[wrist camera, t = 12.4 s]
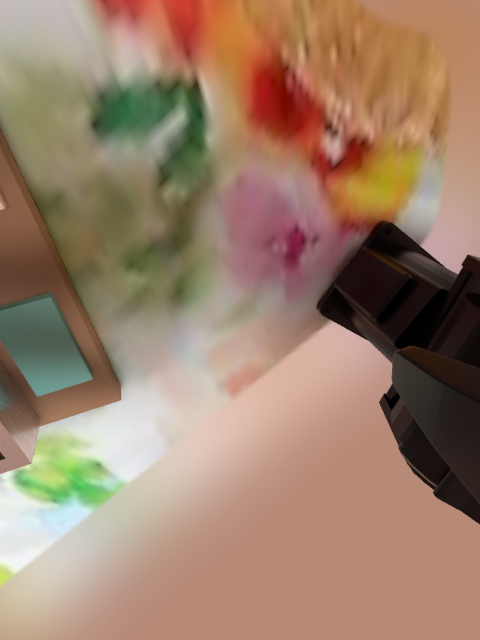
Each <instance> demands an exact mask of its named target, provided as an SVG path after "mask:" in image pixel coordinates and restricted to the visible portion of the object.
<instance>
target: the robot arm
mask: <svg viewBox="0 0 480 640" xmlns="http://www.w3.org/2000/svg"><path fill="white" fill-rule="evenodd" d="M386 228H387V231H386V232H385V233H384V230H385V229H386ZM462 266H463V268H462V269H461V271H460V273H459V274H456V273H454V272H452V271H450V270H449V269H447V268H445V267H444V266H443V265H442V264H441V263H440V262H438V261H437V260H436V259H435V258H434V257H432V256H431V255H430V254H429V253H428V252H426V251H425V250H424V249H423V248H422V247H420V246H419V245H418V244H417V243H416V242H414V241H413V240H412V239H411V238H410V237H408V236H407V235H406V234H405V233H404V232H402V231H401V230H400V229H399V228H398V227H396V226H395V225H394V224H392V223H390V222H388V221H383V222H381V223H380V224H379V225H378V226H377V227H376V229H375V230H374V231H373V233H372V234H371V235H370V237H369V238H368V239H367V241H366V242H365V243H364V244H363V246H362V247H361V248H360V250H359V251H358V252H357V254H356V255H355V256H354V258H353V259H352V260H351V261H350V263H349V264H348V265H347V267H346V268H345V269H344V271H343V272H342V273H341V275H340V276H339V277H338V279H337V280H336V281H335V282H334V284H333V285H332V286H331V288H330V289H329V290H328V292H327V293H326V294H325V296H324V297H323V298H322V299H321V301H320V302H319V304H318V306H317V309H318V311H319V312H320V313H321V314H322V315H323V316H325V317H326V318H328V319H330V320H332V321H334V322H335V323H337V324H339V325H341V326H343V327H345V328H346V329H348V330H350V331H352V332H353V333H355V334H357V335H359V336H361V337H363V338H364V339H366V340H368V341H370V342H371V343H372V344H373V345H374V346H375V347H376V348H377V349H378V350H379V351H380V352H381V353H382V354H383V355H384V356H385V357H386V358H387V359H388V360H389V361H390V362H391V363H392V364H393V366H392V383H393V384H392V385H391V387H390V389H389V390H388V392H387V393H386V394H384V395H383V397H382V398H381V400H380V402H379V403H380V406H381V408H382V410H383V412H384V414H385V417H386V419H387V421H388V423H389V425H390V428H391V430H392V432H393V434H394V437H395V439H396V441H397V443H398V445H399V450H400V452H401V454H402V456H403V457H404V459H405V460H406V462H407V464H408V465H409V466H410V468H411V469H412V471H413V473H414V474H415V475H417V476H418V477H419V478H420V479H421V480H422V481H423V482H425V483H426V484H427V485H428V486H430V487H431V488H432V489H433V490H434V492H433V493H434V495H435V496H436V497H437V498H438V499H440V500H442V501H443V502H445V503H447V504H449V505H451V506H452V507H455V508H456V509H458V510H460V511H462V512H463V513H464V514H466V515H467V516H469V517H470V518H471V519H473V520H475V521H476V522H477V523H479V524H480V258H478V257H475V256H471V255H467V257H466V258H465V260H464V262H463V263H462ZM327 305H328V307H327V308H326V309H324V308H325V307H326V306H327Z"/></svg>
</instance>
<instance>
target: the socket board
mask: <svg viewBox="0 0 480 640" xmlns="http://www.w3.org/2000/svg"><path fill="white" fill-rule="evenodd" d="M0 358H1V360H2V361H3V363H4V364H5V366H6V367H7V369H8V370H9V372H10V373H11V375H12V376H13V378H14V379H15V381H16V382H17V384H18V385H19V387H20V388H21V390H22V391H23V393H24V394H25V396H26V397H27V399H28V400H29V402H30V403H31V405H32V406H33V408H34V409H35V411H36V412H37V414H38V415H39V417H40V418H41V420H40V425H39V427H40V426H43V425H46V424H49V423H52V422H55V421H58V420H61V419H64V418H67V417H70V416H73V415H76V414H79V413H83V412H86V411H89V410H92V409H95V408H98V407H101V406H104V405H107V404H110V403H113V402H116V401H119V400H121V386H120V384H119V382H118V380H117V377H116V375H115V373H114V371H113V369H112V367H111V365H110V362H109V360H108V358H107V356H106V354H105V352H104V350H103V348H102V345H101V343H100V341H99V339H98V337H97V335H96V333H95V330H94V328H93V326H92V324H91V322H90V320H89V318H88V316H87V313H86V311H85V309H84V307H83V305H82V303H81V301H80V298H79V296H78V294H77V292H76V290H75V288H74V286H73V284H72V281H71V279H70V277H69V275H68V273H67V271H66V269H65V266H64V264H63V262H62V260H61V258H60V256H59V254H58V252H57V249H56V247H55V245H54V243H53V241H52V239H51V237H50V234H49V232H48V230H47V228H46V226H45V224H44V222H43V220H42V217H41V215H40V213H39V211H38V209H37V207H36V205H35V202H34V200H33V198H32V196H31V194H30V192H29V190H28V188H27V185H26V183H25V181H24V179H23V177H22V175H21V173H20V170H19V168H18V166H17V164H16V162H15V160H14V158H13V156H12V153H11V151H10V149H9V147H8V145H7V143H6V141H5V138H4V136H3V134H2V132H1V130H0Z"/></svg>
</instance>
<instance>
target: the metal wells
mask: <svg viewBox="0 0 480 640" xmlns="http://www.w3.org/2000/svg"><path fill="white" fill-rule="evenodd" d="M40 420H41V418H40V417H39V415H38V414H37V412H36V411H35V409H34V408H33V406H32V405H31V403H30V402H29V400H28V399H27V397H26V396H25V394H24V393H23V391H22V390H21V388H20V387H19V385H18V384H17V382H16V381H15V379H14V378H13V376H12V375H11V373H10V372H9V370H8V369H7V367H6V366H5V364H4V363H3V361H2V360H1V358H0V474H2V473H4V472H7V471H10V470H13V469H16V468H19V467H22V466H25V465H28V464H31V463H32V459H33V454H34V450H35V445H36V440H37V435H38V430H39V425H40Z"/></svg>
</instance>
